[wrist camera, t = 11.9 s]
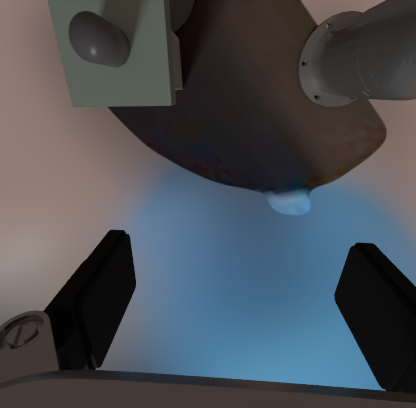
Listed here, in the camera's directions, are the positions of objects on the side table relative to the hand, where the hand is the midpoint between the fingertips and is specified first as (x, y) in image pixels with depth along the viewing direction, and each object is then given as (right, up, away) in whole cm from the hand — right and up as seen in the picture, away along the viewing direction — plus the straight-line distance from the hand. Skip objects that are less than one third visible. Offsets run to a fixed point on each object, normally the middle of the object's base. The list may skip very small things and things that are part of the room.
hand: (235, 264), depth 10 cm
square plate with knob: (-10, +18, +13) cm, 24 cm away
